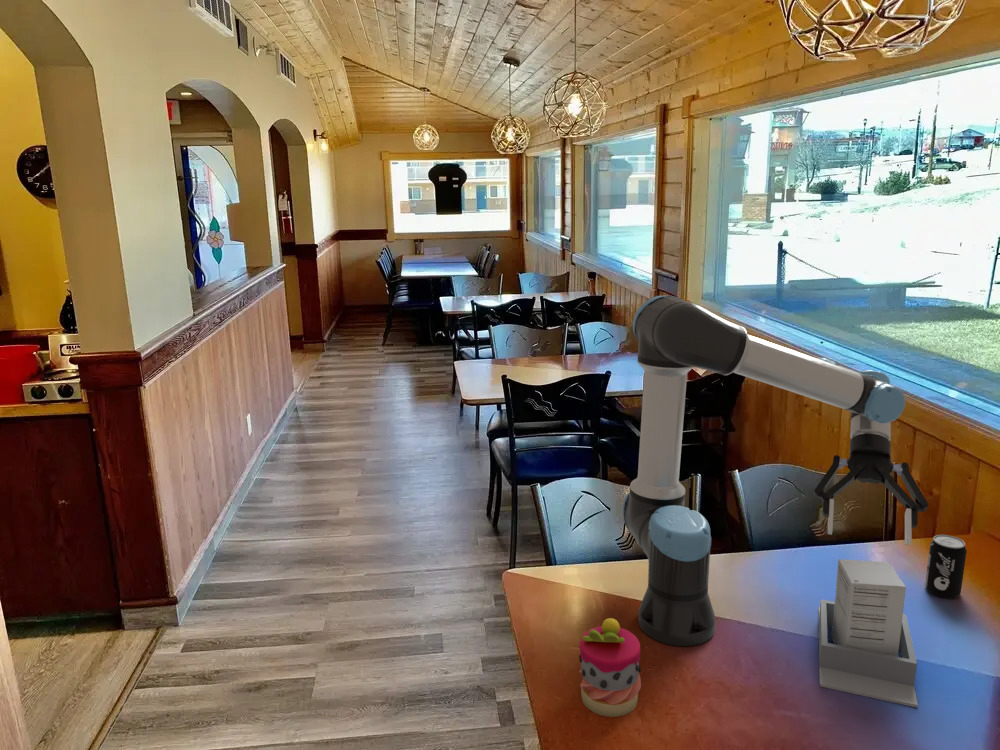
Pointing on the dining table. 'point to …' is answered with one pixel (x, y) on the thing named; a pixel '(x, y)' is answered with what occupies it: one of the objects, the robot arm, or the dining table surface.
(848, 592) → the supplement box
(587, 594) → the dining table surface
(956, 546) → the beverage can
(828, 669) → the grey open box
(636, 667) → the cake
